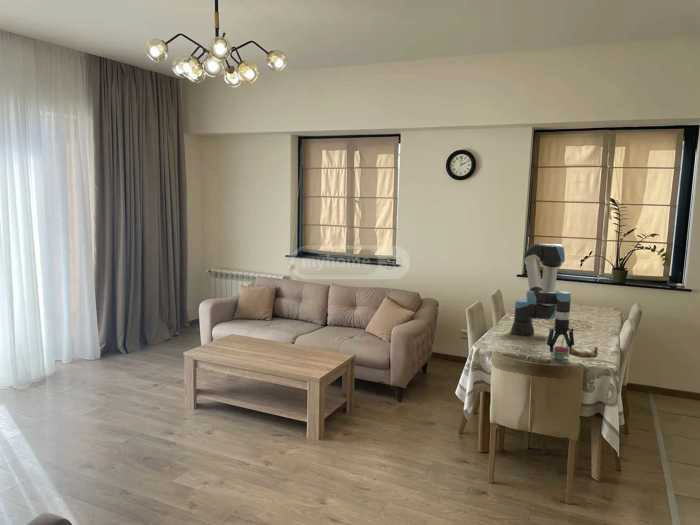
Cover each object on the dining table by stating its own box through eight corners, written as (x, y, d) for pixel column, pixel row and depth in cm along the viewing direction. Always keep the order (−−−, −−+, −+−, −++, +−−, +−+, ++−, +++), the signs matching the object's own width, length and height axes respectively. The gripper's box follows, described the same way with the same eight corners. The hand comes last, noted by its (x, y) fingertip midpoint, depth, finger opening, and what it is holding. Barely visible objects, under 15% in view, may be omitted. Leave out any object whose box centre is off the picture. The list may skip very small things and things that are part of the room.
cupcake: (559, 355, 307) (560, 335, 305) (570, 360, 299) (572, 339, 298) (548, 357, 303) (549, 337, 302) (559, 361, 296) (560, 341, 294)
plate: (577, 357, 304) (578, 350, 303) (562, 349, 320) (563, 342, 319) (603, 356, 306) (603, 349, 306) (587, 348, 322) (587, 341, 321)
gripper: (548, 320, 293) (545, 359, 296) (583, 319, 296) (580, 358, 299) (541, 317, 301) (539, 355, 303) (575, 316, 304) (573, 354, 306)
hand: (559, 357), depth 301 cm, fingers closed on cupcake, 8 cm apart
